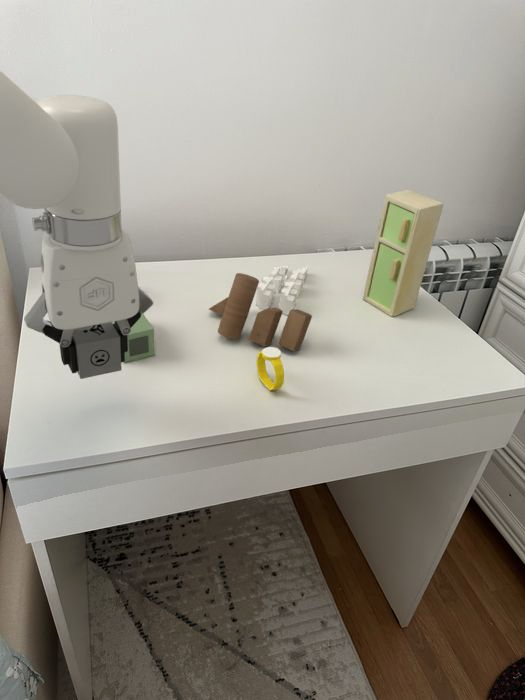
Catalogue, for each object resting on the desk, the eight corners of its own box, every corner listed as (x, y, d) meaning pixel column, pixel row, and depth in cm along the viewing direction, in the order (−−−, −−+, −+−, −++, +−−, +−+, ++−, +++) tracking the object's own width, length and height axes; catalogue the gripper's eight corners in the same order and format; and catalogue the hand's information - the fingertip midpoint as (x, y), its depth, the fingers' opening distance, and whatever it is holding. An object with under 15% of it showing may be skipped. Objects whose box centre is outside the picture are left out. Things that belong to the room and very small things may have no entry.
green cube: (124, 363, 81) (122, 336, 78) (113, 345, 85) (111, 319, 82) (155, 355, 83) (154, 329, 80) (143, 338, 87) (142, 312, 84)
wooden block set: (300, 357, 91) (322, 300, 88) (281, 363, 83) (303, 301, 80) (214, 317, 97) (231, 263, 94) (188, 320, 89) (206, 261, 86)
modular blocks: (290, 316, 97) (293, 297, 94) (254, 308, 98) (256, 289, 96) (310, 270, 113) (313, 253, 110) (279, 263, 114) (281, 246, 111)
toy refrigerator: (358, 299, 104) (382, 194, 92) (383, 291, 108) (409, 188, 96) (389, 318, 99) (418, 210, 87) (414, 309, 103) (445, 203, 91)
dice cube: (121, 370, 67) (119, 336, 64) (80, 379, 64) (77, 344, 62) (109, 349, 70) (108, 316, 67) (70, 356, 68) (67, 323, 65)
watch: (286, 394, 79) (291, 362, 75) (270, 398, 77) (274, 366, 74) (266, 370, 83) (270, 339, 79) (251, 375, 82) (254, 343, 78)
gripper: (5, 247, 50) (30, 396, 61) (173, 229, 59) (170, 363, 69) (-9, 218, 55) (17, 360, 66) (148, 205, 64) (149, 333, 74)
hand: (95, 360), depth 67 cm, fingers closed on dice cube, 5 cm apart
